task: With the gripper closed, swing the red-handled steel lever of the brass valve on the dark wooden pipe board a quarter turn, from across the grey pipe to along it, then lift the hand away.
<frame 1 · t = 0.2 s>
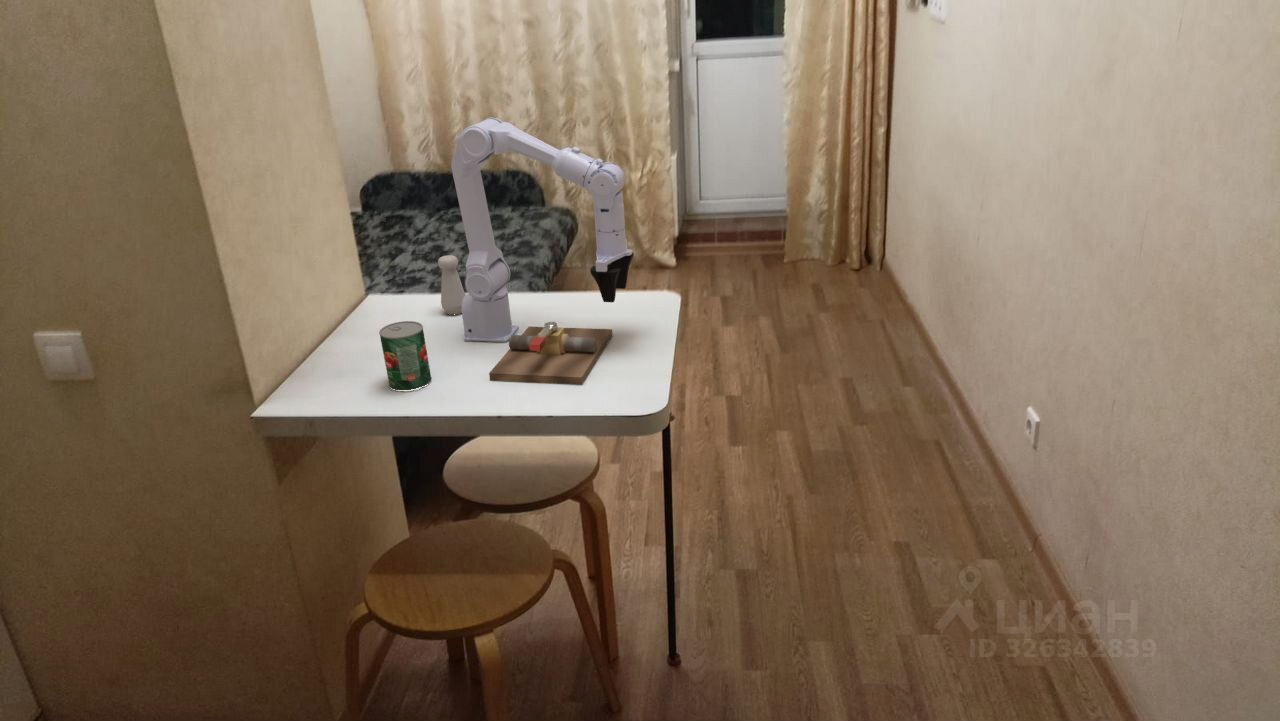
hand: (614, 294, 183), 10 cm above the table, tool pointing down, fingers open, 7 cm apart
salt shaker: (455, 312, 207), on the table
valve board: (554, 357, 181), on the table
valve lever: (543, 335, 175), point 6 cm above the table, hinge at 0.0°
canned tomato: (410, 383, 174), on the table
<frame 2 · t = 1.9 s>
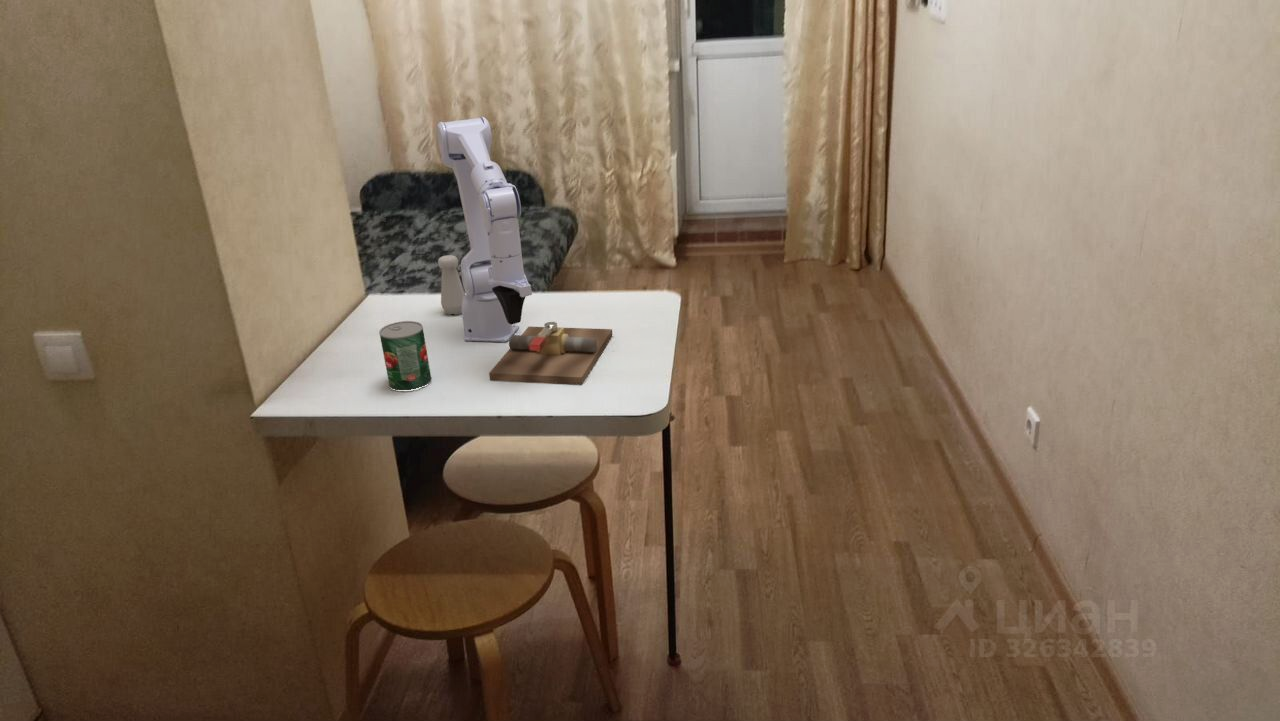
hand: (514, 322, 174), 9 cm above the table, tool pointing down, fingers closed
nothing on the table moved.
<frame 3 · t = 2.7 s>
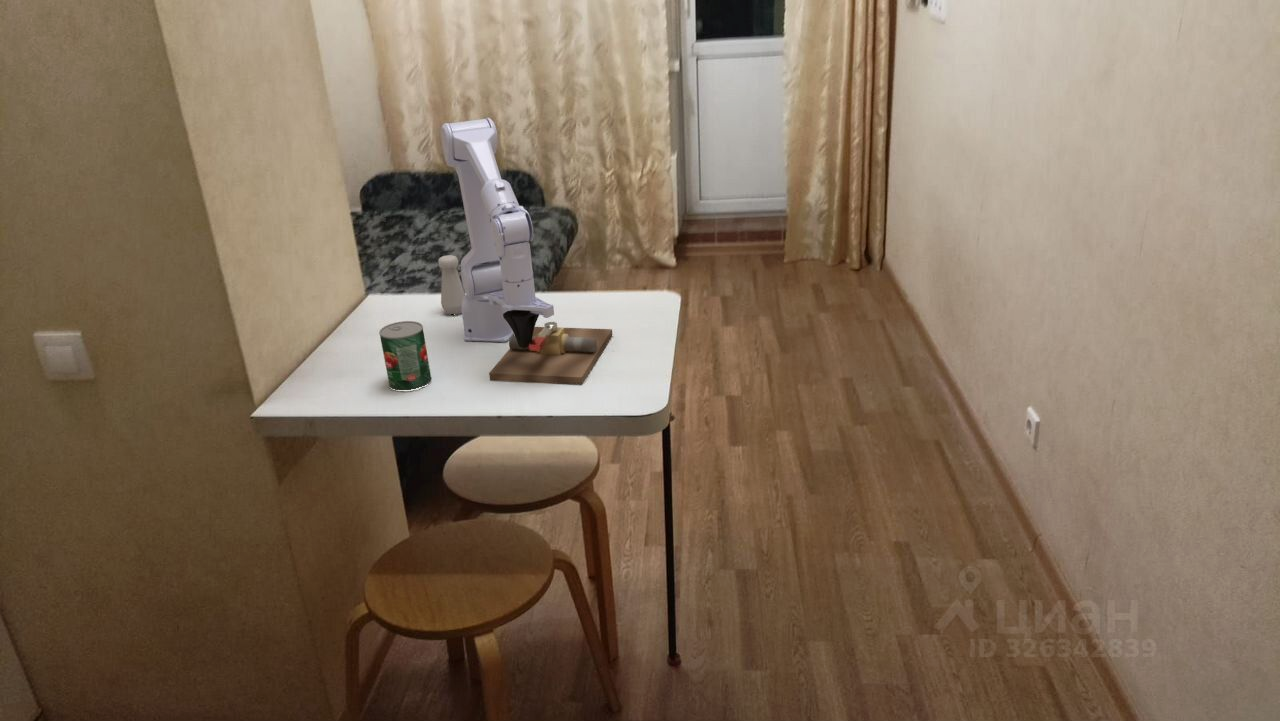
hand: (525, 345, 174), 5 cm above the table, tool pointing down, fingers closed
nothing on the table moved.
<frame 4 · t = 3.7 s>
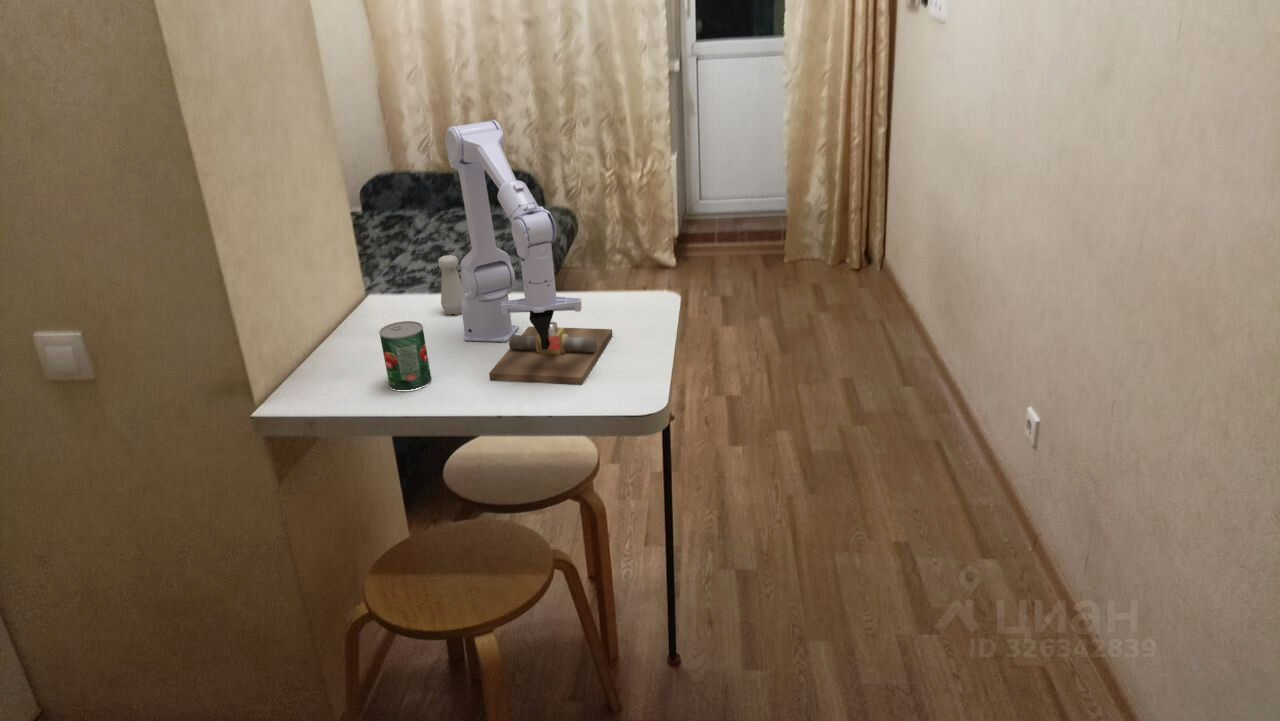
hand: (545, 347, 173), 5 cm above the table, tool pointing down, fingers closed, pressing on valve lever
valve lever: (552, 335, 175), point 6 cm above the table, hinge at 21.9°, touching gripper
everything else where it was.
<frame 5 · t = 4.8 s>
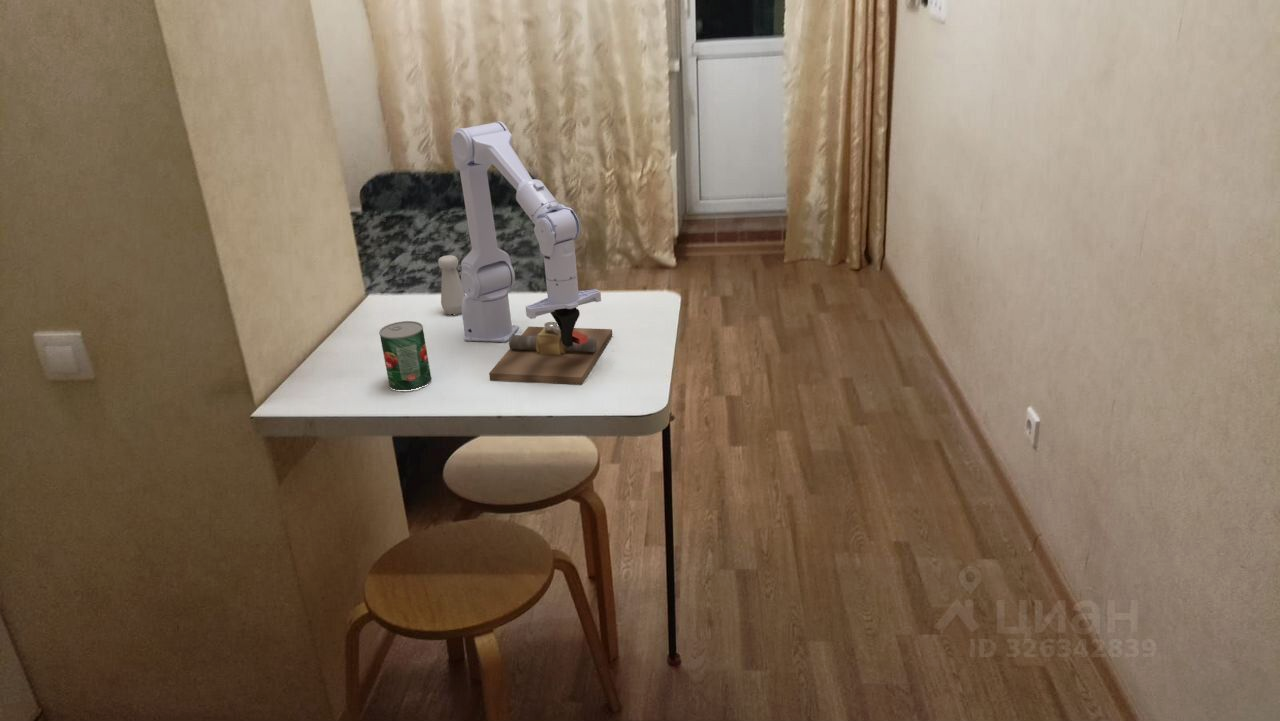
hand: (567, 344, 173), 5 cm above the table, tool pointing down, fingers closed, pressing on valve lever
valve lever: (564, 332, 176), point 6 cm above the table, hinge at 54.9°, touching gripper
everything else where it was.
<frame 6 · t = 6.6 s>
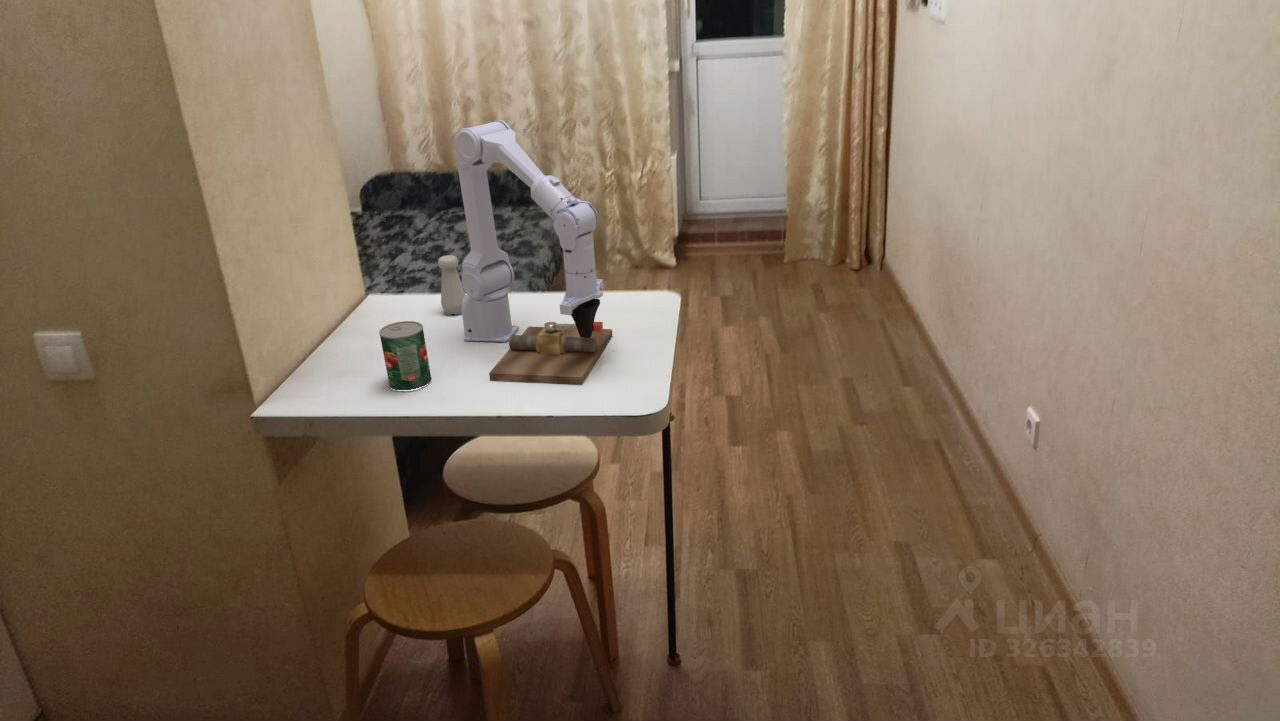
hand: (585, 336, 176), 5 cm above the table, tool pointing down, fingers closed
valve lever: (573, 326, 178), point 6 cm above the table, hinge at 96.0°, touching gripper
everything else where it was.
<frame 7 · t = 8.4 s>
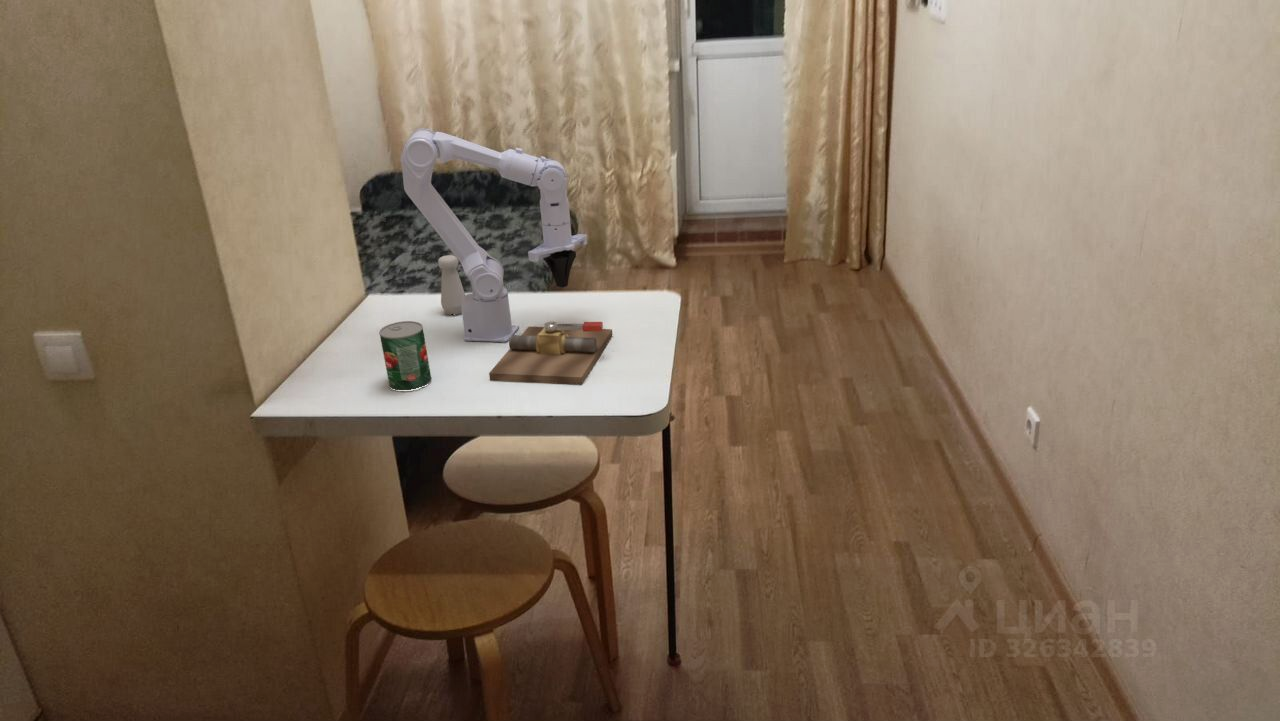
hand: (562, 285, 191), 9 cm above the table, tool pointing down, fingers closed
valve lever: (573, 326, 178), point 6 cm above the table, hinge at 96.1°
everything else where it was.
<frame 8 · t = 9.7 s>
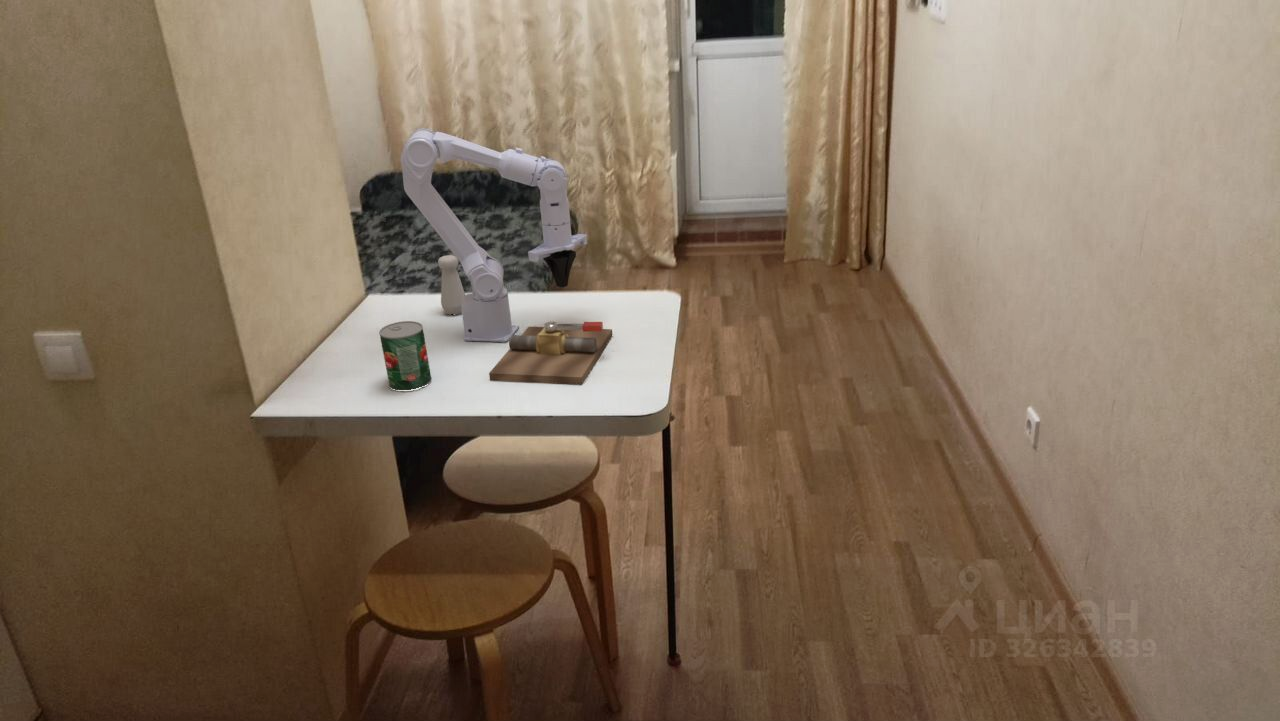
hand: (562, 285, 191), 9 cm above the table, tool pointing down, fingers closed
nothing on the table moved.
at the end: valve lever at +96° (first picture: +0°); canned tomato moved 0.2 cm from its start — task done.
